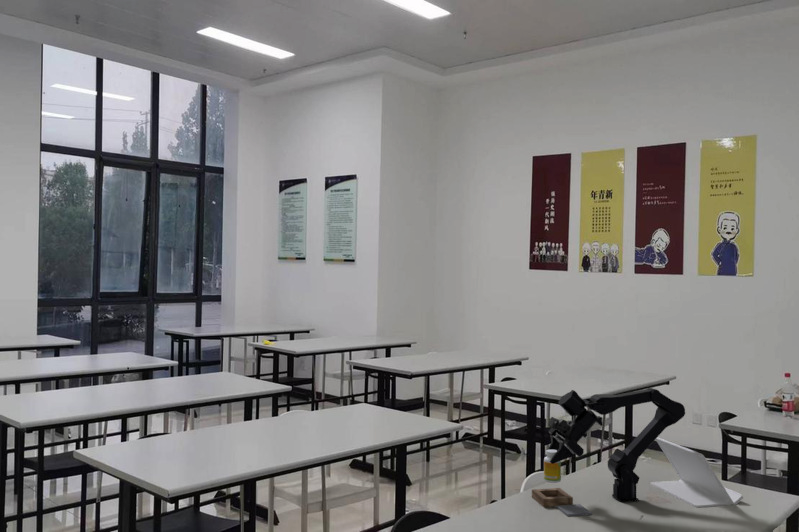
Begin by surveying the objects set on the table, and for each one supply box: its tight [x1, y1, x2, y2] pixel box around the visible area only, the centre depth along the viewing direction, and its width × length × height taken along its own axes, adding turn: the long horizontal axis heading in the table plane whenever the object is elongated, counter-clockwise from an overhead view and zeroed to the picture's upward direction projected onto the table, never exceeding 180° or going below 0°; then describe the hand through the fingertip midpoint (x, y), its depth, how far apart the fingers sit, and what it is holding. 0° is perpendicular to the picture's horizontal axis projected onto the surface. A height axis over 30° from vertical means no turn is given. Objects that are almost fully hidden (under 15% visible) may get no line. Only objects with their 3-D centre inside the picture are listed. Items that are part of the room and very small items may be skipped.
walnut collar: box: [531, 487, 574, 508], centre depth 218 cm, size 10×10×2 cm
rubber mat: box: [556, 503, 593, 517], centre depth 209 cm, size 8×8×1 cm
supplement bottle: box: [543, 449, 562, 484], centre depth 219 cm, size 5×5×10 cm
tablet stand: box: [650, 436, 744, 508], centre depth 227 cm, size 18×25×17 cm
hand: (548, 460), depth 219 cm, fingers closed on supplement bottle, 5 cm apart
